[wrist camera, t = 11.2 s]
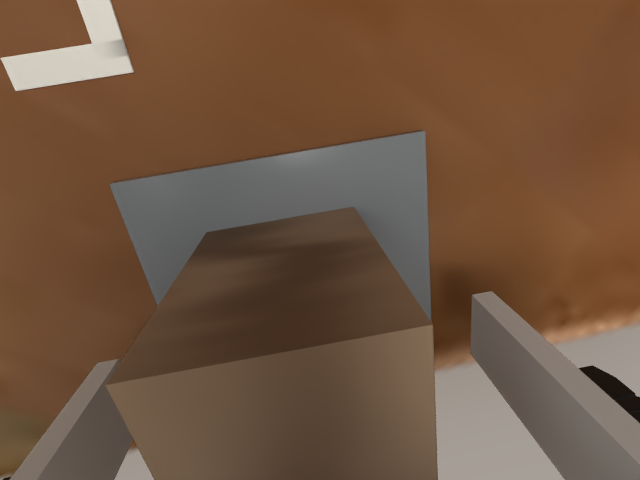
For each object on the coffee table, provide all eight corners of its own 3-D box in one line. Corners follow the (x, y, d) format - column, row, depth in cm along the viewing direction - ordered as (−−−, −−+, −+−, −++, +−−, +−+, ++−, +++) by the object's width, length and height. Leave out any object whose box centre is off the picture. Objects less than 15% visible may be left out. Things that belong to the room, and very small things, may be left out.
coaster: (213, 436, 18) (211, 443, 18) (114, 181, 13) (109, 183, 12) (431, 395, 18) (433, 401, 18) (421, 130, 13) (425, 130, 13)
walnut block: (256, 398, 17) (231, 627, 9) (206, 232, 13) (105, 384, 6) (374, 376, 17) (441, 584, 9) (353, 206, 14) (432, 324, 6)
